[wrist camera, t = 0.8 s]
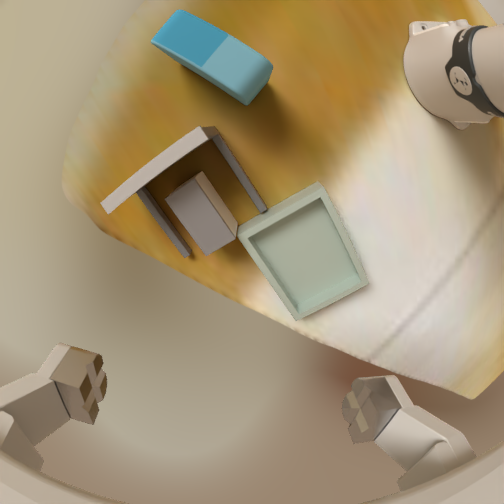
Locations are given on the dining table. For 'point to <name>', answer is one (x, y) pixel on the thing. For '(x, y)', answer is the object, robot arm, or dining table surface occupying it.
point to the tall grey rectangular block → (203, 213)
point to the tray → (304, 251)
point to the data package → (214, 55)
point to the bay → (166, 161)
